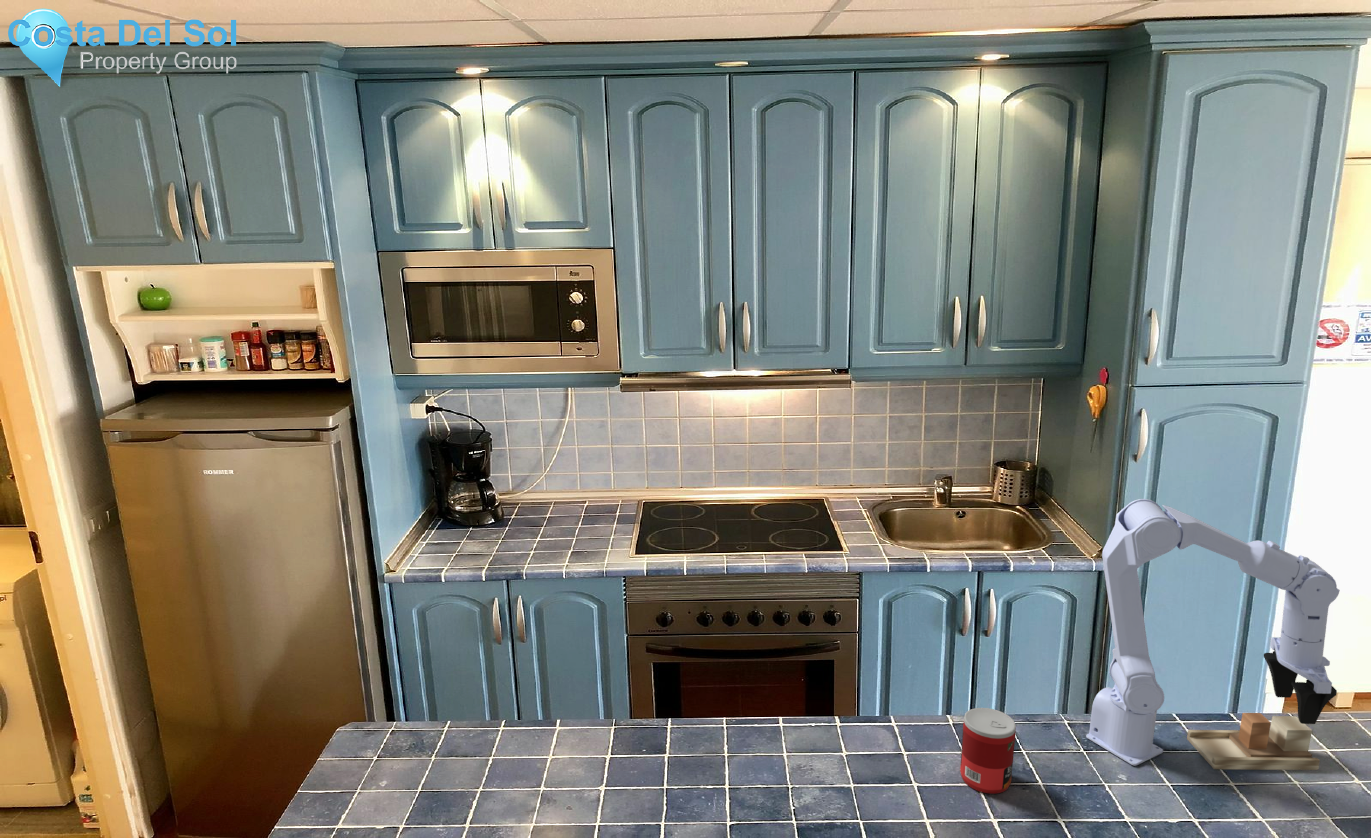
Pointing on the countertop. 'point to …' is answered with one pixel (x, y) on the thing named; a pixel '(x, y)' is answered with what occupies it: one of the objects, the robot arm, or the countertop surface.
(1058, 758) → the countertop surface
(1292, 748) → the cube
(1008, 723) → the canned food
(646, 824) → the countertop surface
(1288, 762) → the rail bed
